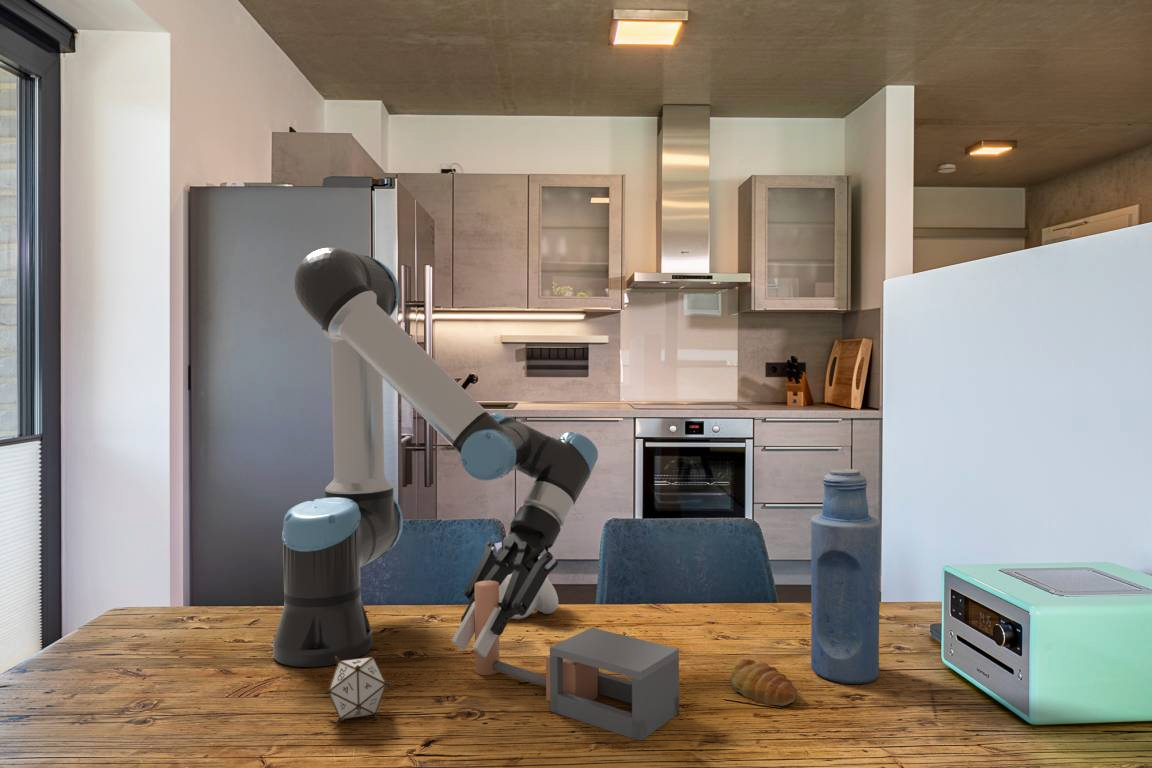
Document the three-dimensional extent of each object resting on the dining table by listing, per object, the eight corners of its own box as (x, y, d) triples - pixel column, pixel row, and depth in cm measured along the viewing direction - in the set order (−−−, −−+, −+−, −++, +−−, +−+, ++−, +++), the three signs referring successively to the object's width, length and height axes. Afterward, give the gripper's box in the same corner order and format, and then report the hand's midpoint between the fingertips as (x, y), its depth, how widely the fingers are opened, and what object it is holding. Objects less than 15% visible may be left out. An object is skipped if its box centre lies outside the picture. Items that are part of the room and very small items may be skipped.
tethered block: (466, 672, 117) (466, 585, 116) (490, 662, 121) (489, 578, 120) (575, 710, 104) (575, 612, 104) (597, 697, 108) (597, 603, 108)
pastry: (809, 701, 107) (809, 673, 107) (776, 714, 103) (775, 686, 103) (756, 678, 115) (756, 652, 115) (723, 690, 111) (723, 663, 111)
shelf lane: (550, 710, 104) (549, 647, 104) (591, 687, 112) (591, 627, 111) (640, 741, 96) (640, 671, 95) (678, 713, 103) (678, 648, 103)
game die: (365, 751, 101) (367, 710, 95) (307, 722, 103) (306, 680, 97) (401, 694, 108) (406, 651, 102) (347, 667, 110) (348, 624, 104)
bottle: (885, 668, 118) (887, 468, 117) (871, 691, 110) (872, 476, 109) (821, 655, 123) (822, 463, 122) (802, 676, 115) (803, 471, 114)
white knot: (503, 601, 152) (502, 555, 151) (565, 603, 150) (564, 557, 150) (488, 620, 140) (488, 570, 140) (555, 623, 139) (554, 573, 139)
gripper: (592, 537, 124) (524, 675, 112) (513, 524, 134) (442, 649, 122) (572, 509, 120) (498, 649, 107) (491, 497, 130) (415, 624, 117)
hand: (468, 648), depth 114 cm, fingers closed on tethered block, 4 cm apart
